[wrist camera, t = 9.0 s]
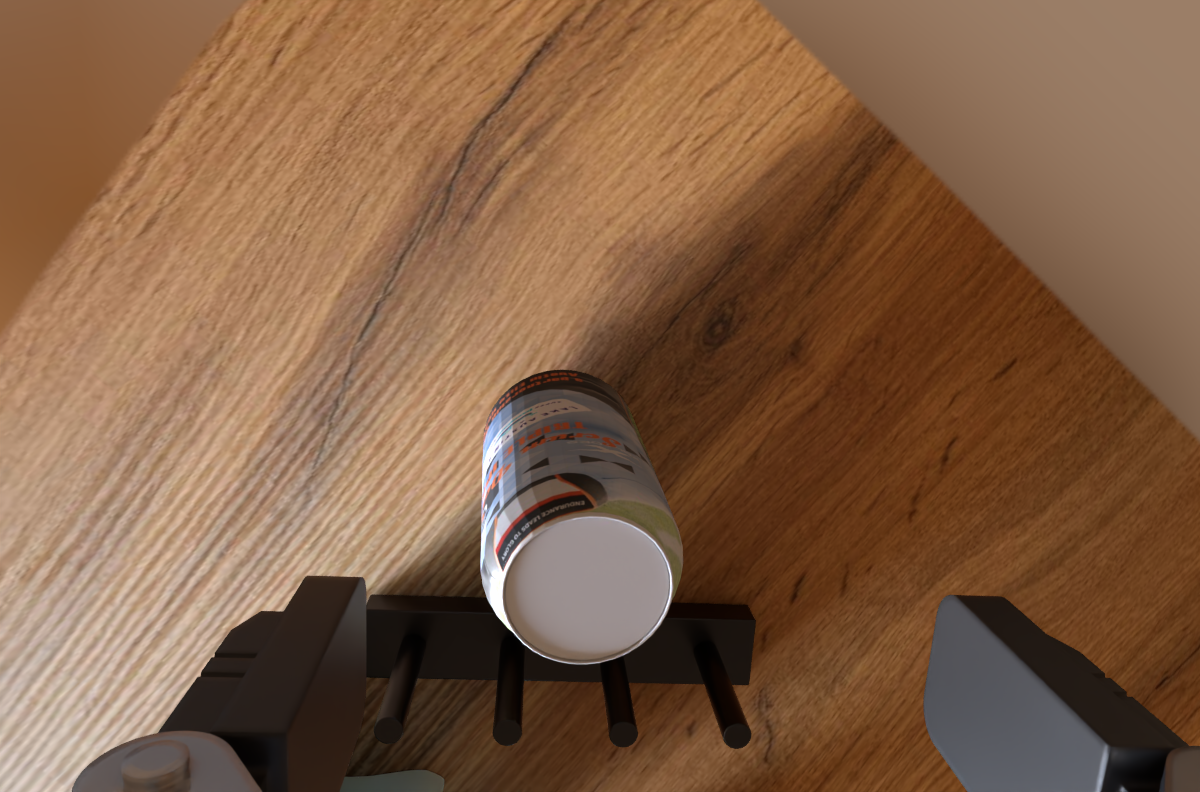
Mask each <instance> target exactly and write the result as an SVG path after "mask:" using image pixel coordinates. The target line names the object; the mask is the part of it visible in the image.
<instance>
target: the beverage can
mask: <svg viewBox="0 0 1200 792" xmlns="http://www.w3.org/2000/svg"><path fill="white" fill-rule="evenodd" d="M682 567H683V546H682V542H681V537H680V533H679V529H678V527H677V524H676V522H675V519H674V517H673V515H672V512H671V510H670V507H669V505H668V502H667V500H666V497H665V495H664V492H663V490H662V488H661V485H660V483H659V480H658V478H657V475H656V473H655V470H654V468H653V465H652V463H651V461H650V458H649V456H648V453H647V451H646V448H645V446H644V443H643V441H642V439H641V436H640V434H639V431H638V429H637V426H636V424H635V421H634V419H633V416H632V414H631V412H630V410H629V408H628V406H627V404H626V403H625V401H624V400H623V399H622V397H621V396H620V395H619V394H618V393H617V392H616V391H615V390H614V389H613V388H612V387H611V386H610V385H608V384H607V383H605V382H604V381H602V380H601V379H599V378H596V377H594V376H592V375H589V374H586V373H582V372H578V371H572V370H553V371H546V372H542V373H538V374H535V375H532V376H530V377H528V378H526V379H523V380H521V381H520V382H518V383H517V384H515V385H514V386H512V387H511V388H510V389H509V390H508V391H507V392H506V393H505V394H504V395H503V396H501V398H500V399H499V400H498V402H497V403H496V404H495V406H494V407H493V409H492V411H491V413H490V415H489V417H488V419H487V423H486V427H485V430H484V441H483V478H482V524H481V576H482V583H483V587H484V590H485V593H486V596H487V599H488V601H489V603H490V605H491V606H492V608H493V610H494V612H495V613H496V615H497V616H498V617H499V619H500V620H501V621H502V622H503V623H504V624H505V625H506V626H507V628H508V629H510V630H511V631H512V632H513V633H514V634H515V635H516V636H517V637H518V639H519V640H520V641H521V642H522V643H523V644H525V645H526V646H527V647H528V648H530V649H531V650H532V651H534V652H536V653H538V654H540V655H542V656H543V657H546V658H549V659H552V660H555V661H558V662H563V663H569V664H594V663H601V662H605V661H609V660H612V659H616V658H618V657H620V656H622V655H625V654H627V653H629V652H631V651H632V650H634V649H635V648H637V647H639V646H640V645H641V644H643V643H644V642H645V641H646V640H647V639H648V638H649V637H651V636H652V635H653V633H654V632H655V631H656V630H657V629H658V627H659V626H660V625H661V623H662V621H663V620H664V618H665V616H666V615H667V612H668V610H669V607H670V604H671V601H672V599H673V597H674V596H675V593H676V590H677V587H678V585H679V582H680V579H681V573H682Z"/></svg>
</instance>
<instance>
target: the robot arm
mask: <svg viewBox="0 0 1200 792" xmlns="http://www.w3.org/2000/svg"><path fill="white" fill-rule="evenodd" d="M365 698H366V585H365V580H364V578H363V577H334V576H306V577H305V578H304V580H303V581H302V583H301V585H300V586H299V588H298V589H297V591H296V593H295V594H294V596H293V597H292V599H291V601H290V602H289V604H288V606H287V607H286V609H285V610H284V612H276V611H261V612H259V613H258V614H256V615H254V616H253V617H251V618H250V619H248V620H247V621H245V622H243V623H242V624H240V625H239V626H237V627H235V628H234V629H232V630H231V631H230V632H229V634H228V635H227V637H226V638H225V639H224V641H223V642H222V644H221V645H220V646H219V648H218V649H217V651H216V652H215V657H214V658H213V657H212V658H211V659H210V661H209V662H208V663H207V665H206V666H205V668H204V669H203V670H202V672H201V677H197V679H196V680H195V682H194V683H193V684H192V686H191V687H190V689H189V690H188V691H187V693H186V694H185V696H184V697H183V698H182V700H181V701H180V703H179V704H178V705H177V707H176V708H175V710H174V711H173V712H172V714H171V715H170V717H169V718H168V719H167V721H166V722H165V724H164V725H163V726H162V728H161V729H160V731H159V732H158V733H157V734H152V735H148V736H144V737H140V738H137V739H134V740H132V741H129V742H126V743H124V744H121V745H119V746H117V747H115V748H113V749H111V750H109V751H108V752H106V753H104V754H103V755H101V756H100V757H98V758H97V759H96V760H94V761H93V762H92V763H90V764H89V765H88V766H87V767H86V768H85V769H84V770H83V771H82V772H81V774H80V775H79V777H78V778H77V779H76V781H75V783H74V786H73V788H72V792H340V789H341V786H342V783H343V780H344V777H345V774H346V771H347V768H348V765H349V763H350V760H351V757H352V754H353V751H354V748H355V745H356V742H357V739H358V736H359V733H360V729H361V725H362V720H363V714H364V707H365ZM924 716H925V722H926V726H927V730H928V733H929V736H930V738H931V740H932V742H933V743H934V745H935V747H936V748H937V749H938V751H939V752H940V754H941V755H942V756H943V758H944V759H945V761H946V762H947V763H948V765H949V766H950V768H951V769H952V771H953V772H954V773H955V775H956V776H957V778H958V779H959V780H960V782H961V783H962V785H963V786H964V787H965V789H966V790H967V792H1200V746H1189V745H1188V744H1187V743H1186V742H1184V741H1183V740H1182V739H1181V738H1180V737H1179V736H1177V735H1176V734H1175V733H1174V732H1173V731H1171V730H1170V729H1169V728H1168V727H1167V726H1166V725H1164V724H1163V723H1162V722H1161V721H1160V720H1159V719H1157V718H1156V717H1155V716H1154V715H1153V714H1152V713H1150V712H1149V711H1148V710H1147V709H1146V708H1145V707H1143V706H1142V705H1141V704H1140V703H1139V702H1138V701H1136V700H1135V699H1134V698H1133V697H1127V692H1126V691H1125V690H1124V689H1122V688H1121V687H1120V686H1119V685H1118V684H1117V683H1115V682H1114V681H1113V680H1112V679H1111V678H1105V673H1104V672H1103V671H1101V670H1100V669H1099V668H1098V667H1097V666H1096V665H1094V664H1093V663H1092V662H1091V661H1090V660H1089V659H1087V658H1086V657H1085V656H1084V655H1083V654H1082V653H1080V652H1079V651H1077V650H1075V649H1074V648H1072V647H1070V646H1068V645H1066V644H1064V643H1062V642H1060V641H1058V640H1057V639H1055V638H1053V637H1051V636H1049V635H1047V634H1046V633H1045V632H1043V631H1042V630H1041V629H1040V628H1039V627H1038V626H1037V625H1035V624H1034V623H1033V622H1032V621H1031V620H1030V619H1029V618H1028V617H1026V616H1025V615H1024V614H1023V613H1022V612H1021V611H1020V610H1018V609H1017V608H1016V607H1015V606H1014V605H1013V604H1012V603H1010V602H1009V601H1008V600H1007V599H1005V598H1004V597H1001V596H967V595H948V596H946V597H945V598H943V600H942V601H941V603H940V605H939V608H938V611H937V616H936V623H935V629H934V635H933V641H932V648H931V654H930V660H929V667H928V673H927V679H926V685H925V692H924Z"/></svg>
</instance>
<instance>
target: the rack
mask: <svg viewBox="0 0 1200 792" xmlns="http://www.w3.org/2000/svg"><path fill="white" fill-rule="evenodd" d="M755 624H756V620H755V618H754V616H753V614H752V612H751V610H750V609H749V607H748V605H731V604H695V603H671V604H670V607H669V610H668V612H667V615H666V616H665V618H664V620H663V621H662V623H661V625H660V626H659V627H658V629H657V630H656V631H655V632H654V633H653V635H652V636H651V637H649V638H648V639H647V640H646V641H645V642H644V643H643V644H641V645H640V646H639V647H637V648H635V649H634V650H632V651H631V652H629V653H627V654H625V655H622V656H620V657H618V658H616V659H612V660H609V661H605V662H601V663H594V664H569V663H563V662H558V661H555V660H552V659H549V658H546V657H543V656H542V655H540V654H538V653H536V652H534V651H532V650H531V649H530V648H528V647H527V646H526V645H525V644H523V643H522V642H521V641H520V640H519V639H518V637H517V636H516V635H515V634H514V633H513V632H512V631H511V630H510V629H508V628H507V626H506V625H505V624H504V623H503V622H502V621H501V620H500V619H499V617H498V616H497V615H496V613H495V612H494V610H493V608H492V606H491V605H490V603H489V601H488V599H487V598H478V597H442V596H406V595H371V596H370V598H369V600H368V602H367V605H366V677H370V678H390V679H389V682H388V686H387V689H386V692H385V695H384V698H383V701H382V704H381V707H380V710H379V714H378V717H377V720H376V723H375V726H374V734H375V736H376V738H377V739H378V740H379V741H381V742H383V743H386V744H391V743H395V742H397V741H398V740H399V739H400V738H401V737H402V735H403V733H404V729H405V725H406V721H407V717H408V714H409V710H410V706H411V702H412V698H413V694H414V691H415V687H416V683H417V679H418V678H419V679H468V680H497V690H496V701H495V712H494V723H493V737H494V739H495V740H496V741H497V742H498V743H499V744H501V745H504V746H510V745H513V744H515V743H517V742H518V741H519V739H520V738H521V736H522V719H523V689H524V681H567V682H602V685H603V693H604V700H605V708H606V715H607V723H608V730H609V737H610V740H611V742H612V743H613V744H614V745H616V746H618V747H628V746H630V745H632V744H633V743H634V742H635V741H636V739H637V737H638V730H637V725H636V719H635V714H634V709H633V703H632V698H631V693H630V688H629V683H665V684H704V685H705V688H706V691H707V694H708V697H709V699H710V702H711V705H712V708H713V711H714V714H715V717H716V720H717V722H718V725H719V728H720V731H721V734H722V737H723V740H724V742H725V743H726V745H728V746H729V747H731V748H734V749H739V748H743V747H744V746H746V745H747V744H748V743H749V741H750V739H751V730H750V728H749V725H748V723H747V720H746V718H745V715H744V713H743V711H742V708H741V706H740V703H739V701H738V698H737V696H736V693H735V691H734V688H733V686H732V685H749V681H750V672H751V662H752V653H753V643H754V634H755Z"/></svg>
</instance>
